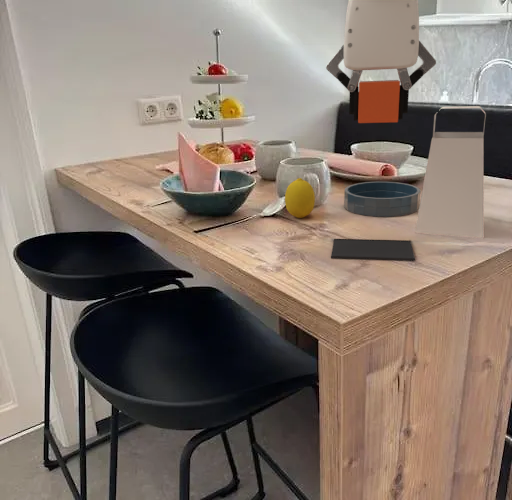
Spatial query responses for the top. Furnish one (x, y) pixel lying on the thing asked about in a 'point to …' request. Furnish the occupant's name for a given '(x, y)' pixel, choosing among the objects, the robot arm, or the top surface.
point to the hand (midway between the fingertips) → (377, 117)
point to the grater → (454, 185)
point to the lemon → (299, 198)
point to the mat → (372, 249)
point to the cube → (378, 101)
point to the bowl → (382, 199)
